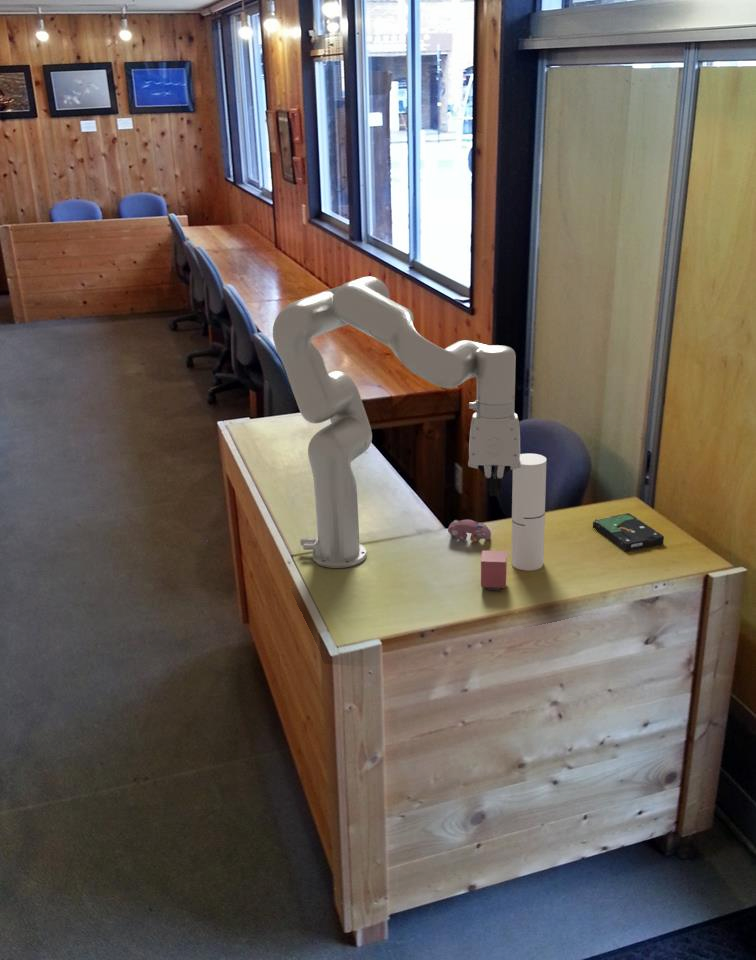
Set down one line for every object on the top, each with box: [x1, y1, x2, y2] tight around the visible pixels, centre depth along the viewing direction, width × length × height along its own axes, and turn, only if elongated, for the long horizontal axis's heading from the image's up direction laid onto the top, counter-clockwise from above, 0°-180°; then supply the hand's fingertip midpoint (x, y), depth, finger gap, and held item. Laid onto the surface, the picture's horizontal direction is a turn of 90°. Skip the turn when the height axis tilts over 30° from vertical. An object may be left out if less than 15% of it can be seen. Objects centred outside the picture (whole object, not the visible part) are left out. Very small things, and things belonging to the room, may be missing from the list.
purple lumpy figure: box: [447, 519, 492, 543], centre depth 220 cm, size 10×5×7 cm, turn 71°
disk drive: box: [592, 512, 665, 553], centre depth 220 cm, size 10×3×15 cm
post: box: [487, 587, 501, 591], centre depth 198 cm, size 3×3×7 cm
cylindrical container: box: [510, 453, 547, 572], centre depth 205 cm, size 7×7×25 cm
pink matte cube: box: [480, 550, 508, 589], centre depth 198 cm, size 5×5×6 cm
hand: (493, 493), depth 191 cm, fingers closed
